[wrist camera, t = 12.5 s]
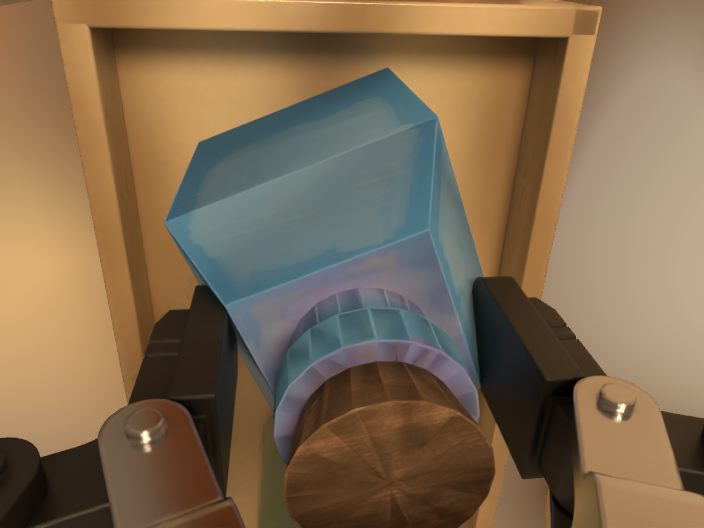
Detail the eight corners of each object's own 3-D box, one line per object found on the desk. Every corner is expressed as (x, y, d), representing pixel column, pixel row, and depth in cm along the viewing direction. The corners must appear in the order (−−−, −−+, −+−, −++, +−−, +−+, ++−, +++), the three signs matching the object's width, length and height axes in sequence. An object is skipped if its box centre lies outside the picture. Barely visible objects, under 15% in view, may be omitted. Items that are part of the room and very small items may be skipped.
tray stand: (227, 400, 52) (188, 728, 30) (189, -29, 36) (48, -9, 14) (383, 392, 53) (456, 699, 31) (412, -22, 37) (603, 6, 15)
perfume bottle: (387, 67, 17) (556, 232, 7) (442, 239, 20) (619, 541, 10) (198, 142, 18) (83, 407, 7) (278, 300, 21) (279, 654, 10)
